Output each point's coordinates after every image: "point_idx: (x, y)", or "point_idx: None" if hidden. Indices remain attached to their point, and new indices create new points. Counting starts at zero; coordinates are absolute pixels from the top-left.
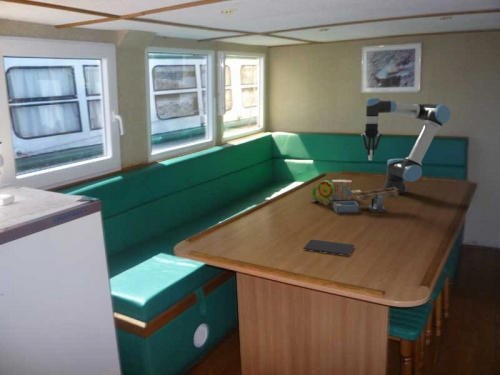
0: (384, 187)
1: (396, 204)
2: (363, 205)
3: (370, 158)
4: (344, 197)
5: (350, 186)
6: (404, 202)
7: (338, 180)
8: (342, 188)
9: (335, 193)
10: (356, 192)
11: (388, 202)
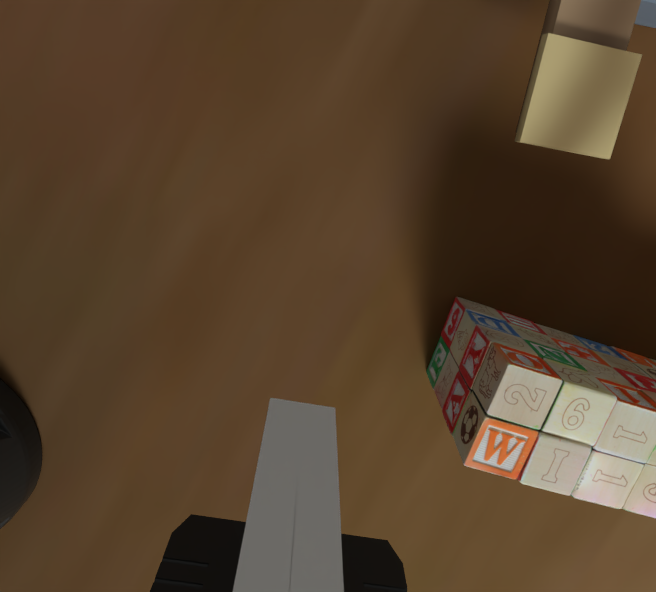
0: (17, 483)
1: (119, 7)
2: (452, 75)
3: (314, 435)
4: (520, 323)
5: (507, 346)
6: (6, 56)
7: (622, 475)
8: (579, 364)
9: (619, 361)
10: (605, 47)
11: (164, 105)
